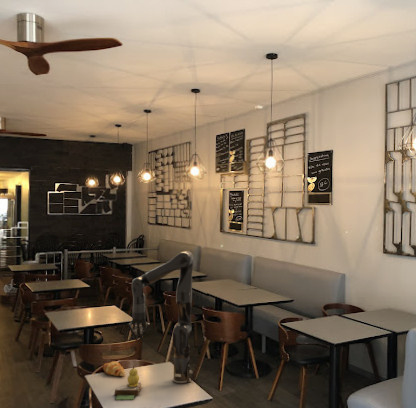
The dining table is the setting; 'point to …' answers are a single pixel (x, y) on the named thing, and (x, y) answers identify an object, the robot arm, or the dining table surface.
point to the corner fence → (128, 391)
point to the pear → (133, 378)
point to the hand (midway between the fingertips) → (138, 340)
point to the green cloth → (125, 397)
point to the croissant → (114, 368)
